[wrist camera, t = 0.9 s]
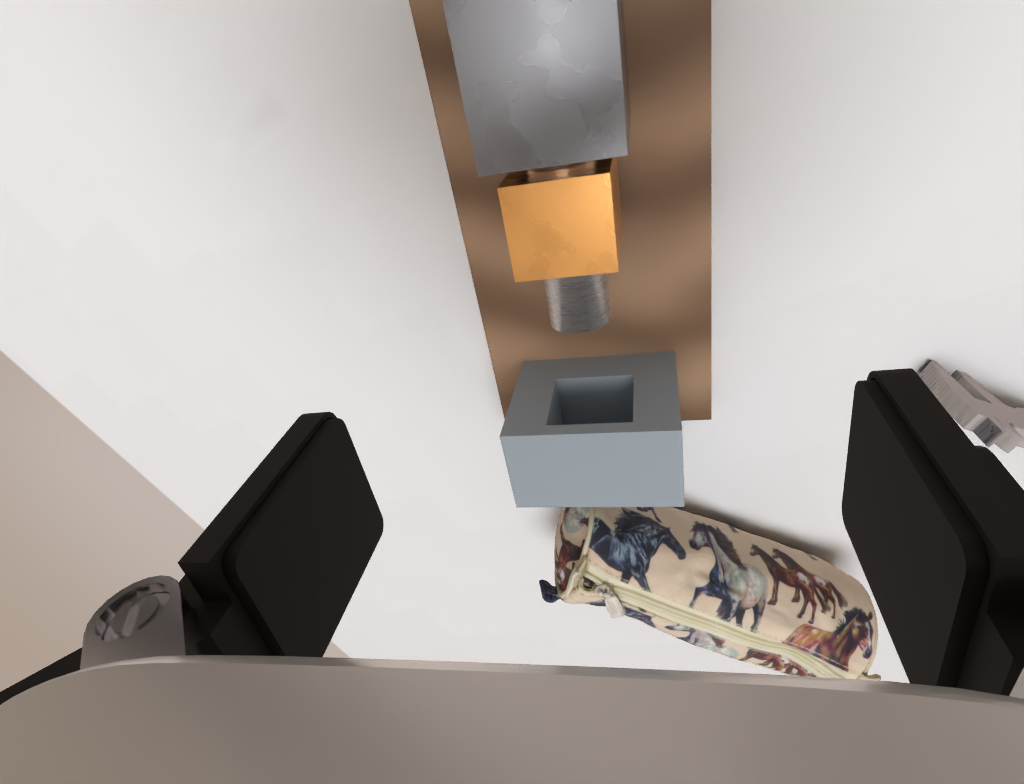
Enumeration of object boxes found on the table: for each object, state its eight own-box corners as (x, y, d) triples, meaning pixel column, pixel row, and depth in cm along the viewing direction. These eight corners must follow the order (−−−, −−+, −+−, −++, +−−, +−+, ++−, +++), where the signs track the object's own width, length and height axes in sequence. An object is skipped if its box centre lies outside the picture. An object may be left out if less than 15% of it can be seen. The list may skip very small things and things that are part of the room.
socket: (523, 361, 37) (499, 436, 31) (674, 351, 34) (682, 430, 28) (535, 425, 39) (516, 507, 33) (677, 420, 37) (684, 506, 31)
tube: (473, -148, 23) (427, -183, 18) (589, -181, 22) (574, -228, 17) (545, 296, 32) (528, 352, 28) (627, 289, 31) (625, 346, 26)
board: (383, -164, 25) (369, -171, 24) (706, -262, 22) (710, -276, 21) (510, 413, 41) (506, 427, 40) (708, 405, 38) (711, 419, 37)
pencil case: (545, 521, 47) (525, 631, 39) (586, 444, 42) (574, 553, 34) (802, 615, 47) (835, 742, 40) (873, 551, 42) (926, 682, 35)
